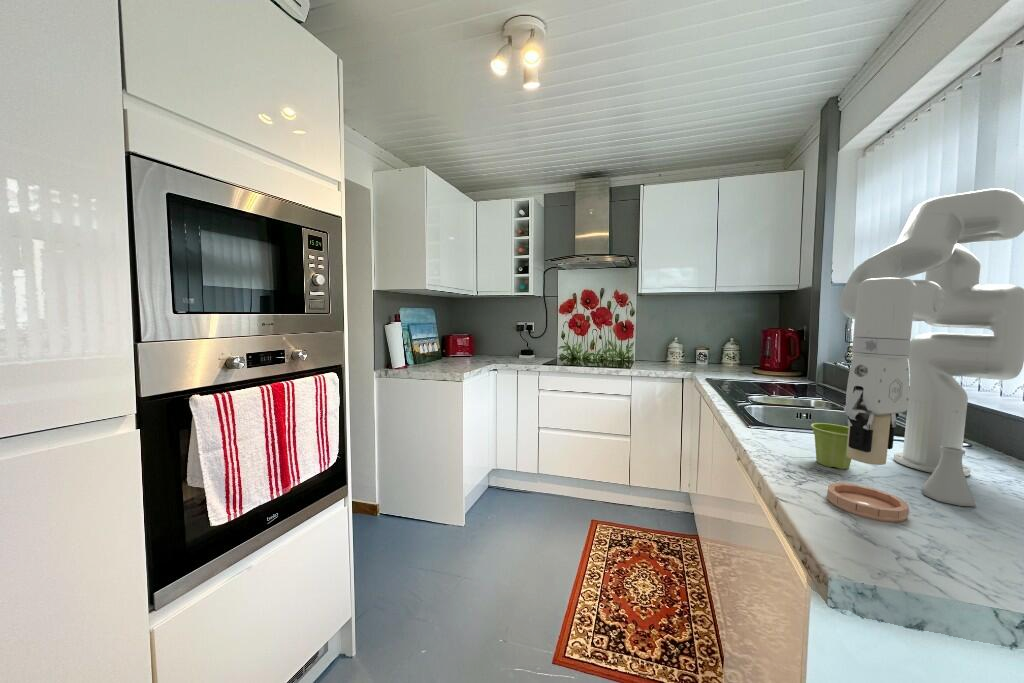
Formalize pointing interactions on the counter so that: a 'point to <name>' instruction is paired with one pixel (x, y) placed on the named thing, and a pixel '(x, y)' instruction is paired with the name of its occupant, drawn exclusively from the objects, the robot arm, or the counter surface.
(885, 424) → the candle
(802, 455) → the counter surface
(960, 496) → the flask
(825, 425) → the plant pot
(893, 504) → the candle dish
